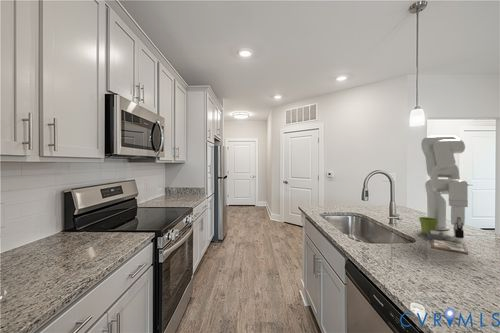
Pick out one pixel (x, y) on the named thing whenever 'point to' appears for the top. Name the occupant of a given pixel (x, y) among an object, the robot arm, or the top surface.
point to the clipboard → (449, 246)
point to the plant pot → (428, 224)
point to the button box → (434, 236)
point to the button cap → (434, 232)
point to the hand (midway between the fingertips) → (458, 235)
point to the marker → (458, 240)
